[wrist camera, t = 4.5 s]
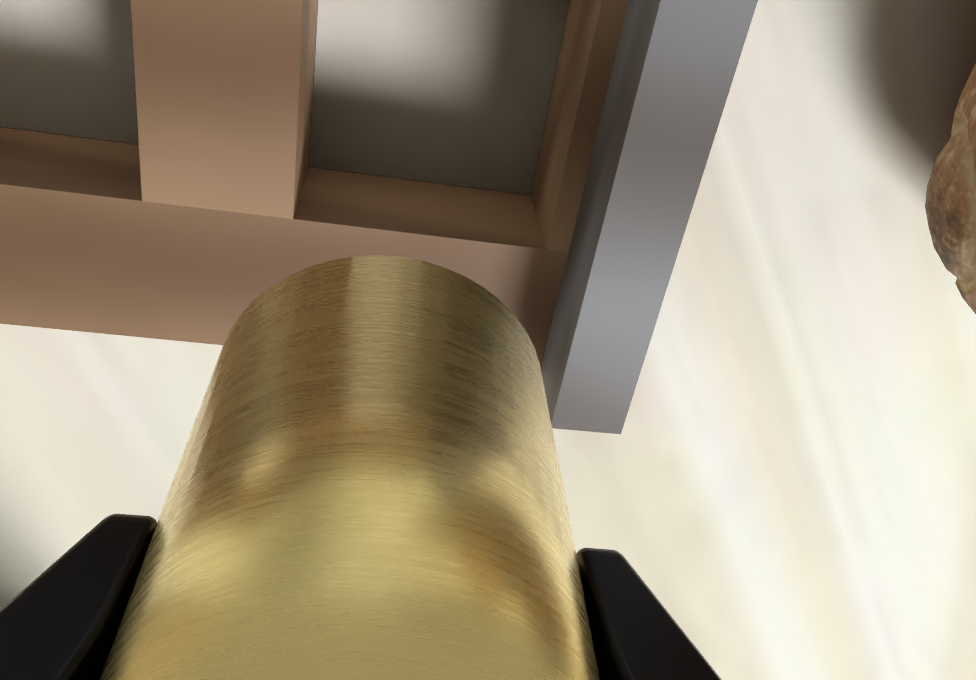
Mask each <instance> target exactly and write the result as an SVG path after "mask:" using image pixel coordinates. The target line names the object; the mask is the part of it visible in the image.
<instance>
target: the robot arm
mask: <svg viewBox="0 0 976 680" xmlns="http://www.w3.org/2000/svg"><path fill="white" fill-rule="evenodd" d="M156 525H157V522H156V520H155V519H154V518H153V517H150V516H140V515H126V514H113V515H110V516H108V517H106V518H105V519H103V520H102V521H101V522H100V523H99V524H98V525H97V526H95V527H94V528H93V529H92V530H91V531H90V532H89V533H88V534H86V535H85V536H84V537H83V538H82V539H81V540H80V541H78V542H77V543H76V544H75V545H74V546H73V547H72V548H71V549H69V550H68V551H67V552H66V553H65V554H64V555H63V556H62V557H60V558H59V559H58V560H57V561H56V562H55V563H54V564H52V565H51V566H50V567H49V568H48V569H47V570H46V571H45V572H43V573H42V574H41V575H40V576H39V577H38V578H37V579H35V580H34V581H33V582H32V583H31V584H30V585H29V586H28V587H26V588H25V589H24V590H23V591H22V592H21V593H20V594H19V595H17V596H16V597H15V598H14V599H13V600H12V601H11V602H9V603H8V604H7V605H6V606H5V607H4V608H3V609H2V610H0V680H99V679H100V676H101V673H102V671H103V668H104V665H105V663H106V660H107V657H108V655H109V652H110V649H111V647H112V644H113V641H114V639H115V636H116V633H117V630H118V628H119V625H120V622H121V620H122V617H123V614H124V612H125V609H126V606H127V604H128V601H129V598H130V595H131V593H132V590H133V587H134V585H135V582H136V579H137V577H138V574H139V571H140V569H141V566H142V563H143V560H144V558H145V555H146V552H147V550H148V547H149V544H150V542H151V539H152V536H153V534H154V531H155V528H156ZM576 557H577V562H578V568H579V573H580V578H581V583H582V589H583V594H584V599H585V604H586V610H587V615H588V620H589V625H590V631H591V636H592V641H593V647H594V652H595V657H596V662H597V668H598V673H599V678H600V680H721V678H720V677H719V676H718V675H717V673H716V672H715V671H714V670H713V668H712V667H711V666H710V665H709V663H708V662H707V661H706V659H705V658H704V657H703V656H702V654H701V653H700V652H699V651H698V649H697V648H696V647H695V646H694V644H693V643H692V642H691V641H690V639H689V638H688V637H687V636H686V634H685V633H684V632H683V630H682V629H681V628H680V627H679V625H678V624H677V623H676V622H675V620H674V619H673V618H672V617H671V615H670V614H669V613H668V612H667V610H666V609H665V608H664V607H663V605H662V604H661V603H660V601H659V600H658V599H657V598H656V596H655V595H654V594H653V593H652V591H651V590H650V589H649V588H648V586H647V585H646V584H645V583H644V581H643V580H642V579H641V578H640V576H639V575H638V574H637V572H636V571H635V570H634V569H633V567H632V566H631V565H630V564H629V562H628V561H627V560H626V559H625V557H624V556H623V555H622V554H620V553H619V552H617V551H615V550H607V549H593V548H583V549H580V550H579V551H578V552H577V554H576Z"/></svg>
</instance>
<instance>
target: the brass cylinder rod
mask: <svg viewBox="0 0 976 680" xmlns="http://www.w3.org/2000/svg"><path fill="white" fill-rule="evenodd" d="M99 680H600V678H599V673H598V668H597V662H596V657H595V652H594V647H593V641H592V636H591V631H590V625H589V620H588V615H587V610H586V604H585V599H584V594H583V589H582V583H581V578H580V573H579V568H578V562H577V557H576V552H575V547H574V541H573V536H572V531H571V526H570V520H569V515H568V510H567V505H566V499H565V494H564V489H563V483H562V478H561V473H560V468H559V462H558V457H557V452H556V447H555V441H554V436H553V431H552V426H551V420H550V415H549V410H548V405H547V399H546V394H545V389H544V384H543V378H542V373H541V368H540V363H539V360H538V357H537V354H536V351H535V348H534V345H533V344H532V342H531V340H530V338H529V336H528V334H527V332H526V330H525V329H524V327H523V326H522V325H521V323H520V322H519V320H518V319H517V318H516V316H515V315H514V314H513V313H512V312H511V311H510V310H509V309H508V308H507V307H506V306H505V305H504V304H503V303H502V302H501V301H500V300H499V299H498V298H497V297H495V296H494V295H493V294H492V293H490V292H489V291H488V290H486V289H485V288H484V287H482V286H480V285H479V284H477V283H475V282H474V281H472V280H470V279H469V278H467V277H465V276H463V275H461V274H458V273H456V272H454V271H451V270H449V269H447V268H444V267H441V266H438V265H434V264H431V263H428V262H425V261H420V260H415V259H409V258H403V257H394V256H377V255H375V256H357V257H348V258H342V259H337V260H331V261H327V262H324V263H320V264H317V265H314V266H310V267H307V268H305V269H303V270H300V271H298V272H296V273H294V274H291V275H289V276H287V277H285V278H284V279H282V280H281V281H279V282H277V283H276V284H274V285H272V286H271V287H269V288H268V289H267V290H266V291H264V292H263V293H262V294H261V295H259V296H258V297H257V298H256V299H255V300H253V301H252V303H251V304H250V305H249V306H248V307H247V308H246V309H245V310H244V312H243V313H242V314H241V315H240V316H239V318H238V319H237V321H236V322H235V324H234V325H233V327H232V329H231V330H230V332H229V334H228V336H227V339H226V341H225V343H224V346H223V348H222V351H221V353H220V356H219V359H218V361H217V364H216V367H215V369H214V372H213V375H212V377H211V380H210V383H209V386H208V388H207V391H206V394H205V396H204V399H203V402H202V404H201V407H200V410H199V412H198V415H197V418H196V421H195V423H194V426H193V429H192V431H191V434H190V437H189V439H188V442H187V445H186V447H185V450H184V453H183V456H182V458H181V461H180V464H179V466H178V469H177V472H176V474H175V477H174V480H173V482H172V485H171V488H170V491H169V493H168V496H167V499H166V501H165V504H164V507H163V509H162V512H161V515H160V517H159V520H158V523H157V525H156V528H155V531H154V534H153V536H152V539H151V542H150V544H149V547H148V550H147V552H146V555H145V558H144V560H143V563H142V566H141V569H140V571H139V574H138V577H137V579H136V582H135V585H134V587H133V590H132V593H131V595H130V598H129V601H128V604H127V606H126V609H125V612H124V614H123V617H122V620H121V622H120V625H119V628H118V630H117V633H116V636H115V639H114V641H113V644H112V647H111V649H110V652H109V655H108V657H107V660H106V663H105V665H104V668H103V671H102V673H101V676H100V679H99Z"/></svg>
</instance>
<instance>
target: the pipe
mask: <svg viewBox="0 0 976 680" xmlns="http://www.w3.org/2000/svg"><path fill="white" fill-rule="evenodd" d="M953 116H954V119H953V125H952V130H951V138H950V139H949V141H948V142H947V144H946V145H945V147H944V148H943V149H942V151H941V152H940V154H939V155H938V156H937V159H936V161H935V164H934V167H933V170H932V173H931V176H930V179H929V182H928V185H927V194H926V203H925V208H926V214H927V220H928V226H929V230H930V234H931V237H932V241H933V245H934V248H935V250H936V251H937V253H938V255H939V257H940V259H941V260H942V262H943V264H944V266H945V267H946V269H947V270H948V271H950V272H951V273H952V274H953V275H955V276H956V277H957V280H956V285H957V287H958V289H959V291H960V293H961V295H962V297H963V299H964V300H965V301H966V302H967V304H968V305H969V306H970V307H971V309H972V310H973V311H974V312H975V314H976V63H975V65H974V67H973V69H972V71H971V73H970V76H969V78H968V80H967V82H966V84H965V86H964V89H963V91H962V93H961V95H960V98H959V101H958V104H957V107H956V109H955V112H954V115H953Z"/></svg>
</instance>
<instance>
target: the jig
mask: <svg viewBox="0 0 976 680" xmlns="http://www.w3.org/2000/svg"><path fill="white" fill-rule="evenodd" d="M130 1H131V18H132V36H133V53H134V70H135V87H136V104H137V122H138V139H139V145H135V144H127V143H119V142H111V141H104V140H96V139H88V138H80V137H73V136H65V135H57V134H49V133H42V132H34V131H26V130H18V129H11V128H3V127H0V323H1V324H11V325H21V326H32V327H42V328H52V329H63V330H73V331H83V332H94V333H104V334H114V335H125V336H135V337H145V338H156V339H166V340H176V341H187V342H197V343H207V344H218V345H224V343H225V341H226V339H227V336H228V334H229V332H230V330H231V329H232V327H233V325H234V324H235V322H236V321H237V319H238V318H239V316H240V315H241V314H242V313H243V312H244V310H245V309H246V308H247V307H248V306H249V305H250V304H251V303H252V301H253V300H255V299H256V298H257V297H258V296H259V295H261V294H262V293H263V292H264V291H266V290H267V289H268V288H269V287H271V286H272V285H274V284H276V283H277V282H279V281H281V280H282V279H284V278H285V277H287V276H289V275H291V274H294V273H296V272H298V271H300V270H303V269H305V268H307V267H310V266H314V265H317V264H320V263H324V262H327V261H331V260H337V259H342V258H348V257H357V256H375V255H377V256H394V257H403V258H409V259H415V260H420V261H425V262H428V263H431V264H434V265H438V266H441V267H444V268H447V269H449V270H451V271H454V272H456V273H458V274H461V275H463V276H465V277H467V278H469V279H470V280H472V281H474V282H475V283H477V284H479V285H480V286H482V287H484V288H485V289H486V290H488V291H489V292H490V293H492V294H493V295H494V296H495V297H497V298H498V299H499V300H500V301H501V302H502V303H503V304H504V305H505V306H506V307H507V308H508V309H509V310H510V311H511V312H512V313H513V314H514V315H515V316H516V318H517V319H518V320H519V322H520V323H521V325H522V326H523V327H524V329H525V330H526V332H527V334H528V336H529V338H530V340H531V342H532V344H533V345H534V348H535V351H536V354H537V357H538V360H539V363H540V368H541V373H542V378H543V384H544V389H545V394H546V399H547V405H548V410H549V415H550V420H551V426H552V428H557V429H568V430H579V431H591V432H602V433H614V434H621V432H622V428H623V425H624V422H625V419H626V416H627V413H628V409H629V406H630V403H631V400H632V397H633V394H634V390H635V387H636V384H637V381H638V378H639V375H640V371H641V368H642V365H643V362H644V359H645V356H646V352H647V349H648V346H649V343H650V340H651V337H652V333H653V330H654V327H655V324H656V321H657V318H658V314H659V311H660V308H661V305H662V302H663V299H664V295H665V292H666V289H667V286H668V283H669V280H670V276H671V273H672V270H673V267H674V264H675V261H676V257H677V254H678V251H679V248H680V245H681V242H682V238H683V235H684V232H685V229H686V226H687V223H688V219H689V216H690V213H691V210H692V207H693V204H694V200H695V197H696V194H697V191H698V188H699V185H700V181H701V178H702V175H703V172H704V169H705V166H706V163H707V159H708V156H709V153H710V150H711V147H712V144H713V140H714V137H715V134H716V131H717V128H718V125H719V121H720V118H721V115H722V112H723V109H724V106H725V102H726V99H727V96H728V93H729V90H730V87H731V83H732V80H733V77H734V74H735V71H736V68H737V64H738V61H739V58H740V55H741V52H742V49H743V45H744V42H745V39H746V36H747V33H748V30H749V26H750V23H751V20H752V17H753V14H754V11H755V7H756V4H757V1H758V0H571V1H570V6H569V10H568V15H567V20H566V25H565V30H564V35H563V40H562V45H561V50H560V54H559V59H558V64H557V69H556V74H555V79H554V84H553V89H552V94H551V99H550V103H549V108H548V113H547V118H546V123H545V128H544V133H543V138H542V143H541V147H540V152H539V157H538V162H537V167H536V172H535V177H534V182H533V187H532V192H531V196H530V195H522V194H514V193H507V192H499V191H491V190H483V189H476V188H468V187H460V186H452V185H445V184H437V183H429V182H421V181H414V180H406V179H398V178H390V177H383V176H375V175H367V174H359V173H352V172H344V171H336V170H328V169H321V168H313V167H309V160H310V142H311V123H312V104H313V86H314V67H315V49H316V30H317V11H318V0H130Z"/></svg>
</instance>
